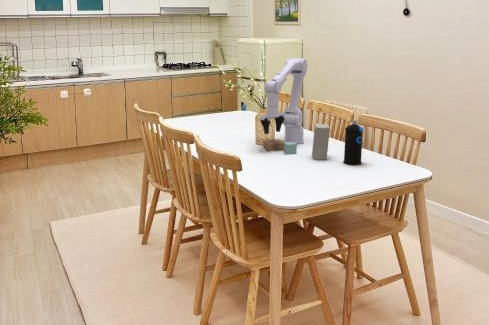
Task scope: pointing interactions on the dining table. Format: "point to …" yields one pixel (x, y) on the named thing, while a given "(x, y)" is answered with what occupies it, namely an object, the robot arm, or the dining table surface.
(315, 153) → the skincare box
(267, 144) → the walnut block
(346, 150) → the aerosol can
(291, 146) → the teal block
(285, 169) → the dining table surface
